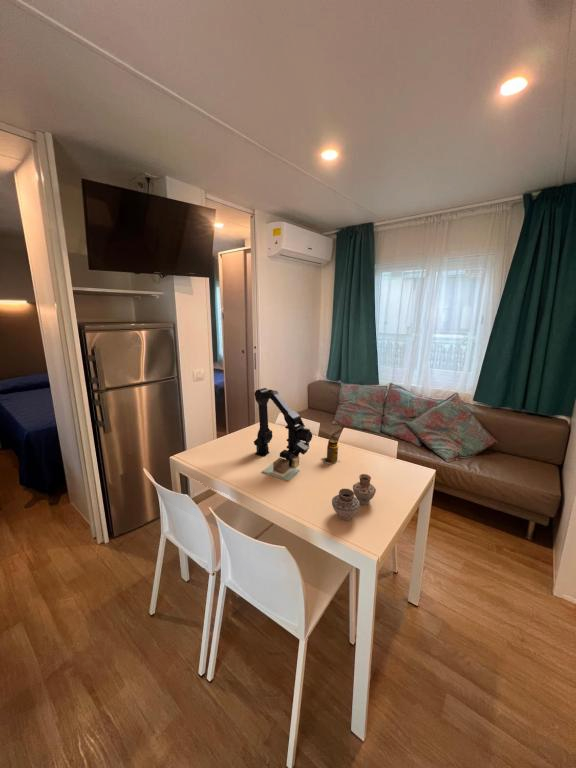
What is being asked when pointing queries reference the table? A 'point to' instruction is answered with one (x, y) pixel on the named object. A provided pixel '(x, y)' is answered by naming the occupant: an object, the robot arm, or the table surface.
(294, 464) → the oak cube
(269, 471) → the base board
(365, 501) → the pottery
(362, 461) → the table surface
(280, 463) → the walnut block
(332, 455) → the condiment
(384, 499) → the table surface
